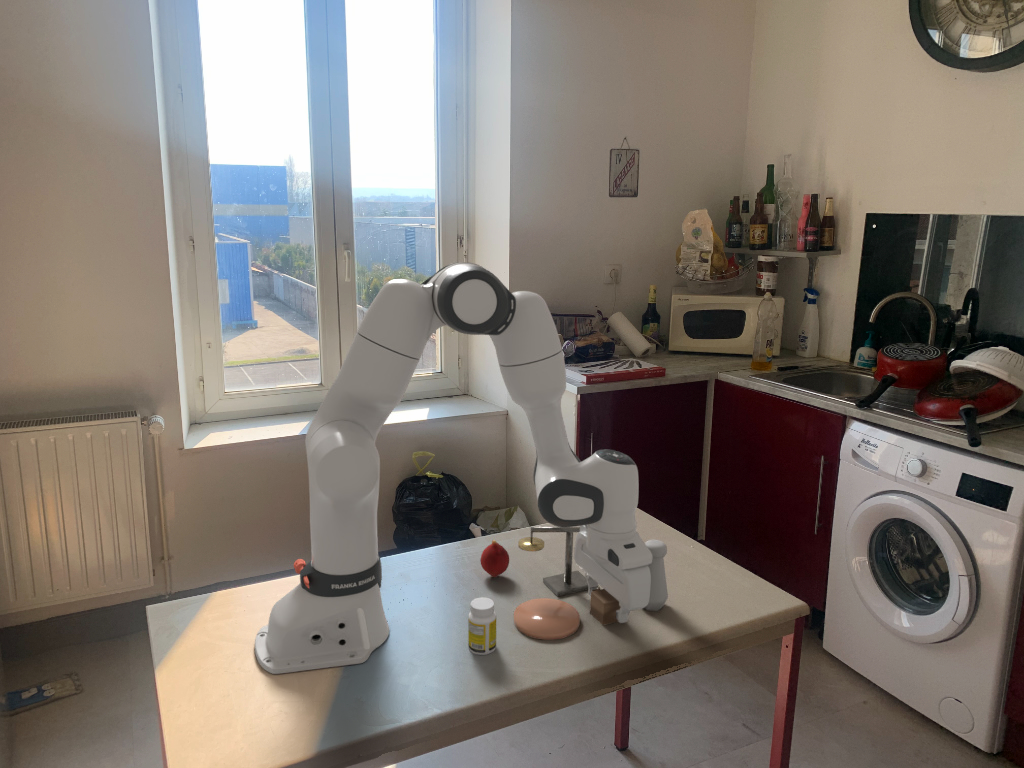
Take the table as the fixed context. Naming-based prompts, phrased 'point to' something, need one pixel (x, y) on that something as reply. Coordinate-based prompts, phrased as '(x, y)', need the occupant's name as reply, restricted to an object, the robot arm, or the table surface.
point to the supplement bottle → (482, 626)
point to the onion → (494, 559)
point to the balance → (569, 579)
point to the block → (604, 606)
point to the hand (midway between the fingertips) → (607, 607)
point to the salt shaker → (657, 575)
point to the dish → (546, 619)
